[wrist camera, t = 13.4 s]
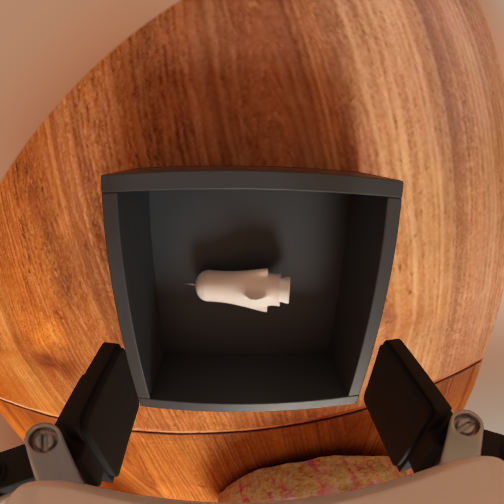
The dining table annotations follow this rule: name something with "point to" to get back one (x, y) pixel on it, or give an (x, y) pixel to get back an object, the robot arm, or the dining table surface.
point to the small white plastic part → (243, 288)
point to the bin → (249, 258)
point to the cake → (311, 479)
